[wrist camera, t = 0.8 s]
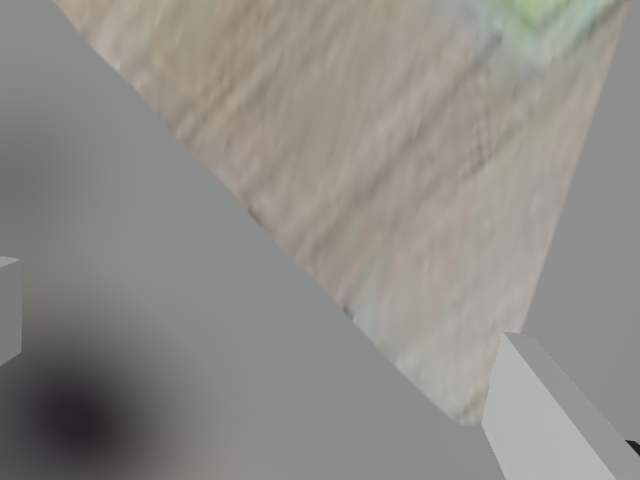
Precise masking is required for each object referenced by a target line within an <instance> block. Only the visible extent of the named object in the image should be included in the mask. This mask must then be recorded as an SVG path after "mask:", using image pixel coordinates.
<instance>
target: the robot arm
mask: <svg viewBox="0 0 640 480" xmlns="http://www.w3.org/2000/svg"><path fill="white" fill-rule="evenodd" d="M21 270H22V260H21V259H15V258H9V257H3V256H0V366H1V365H2V364H4V363H5V362H7V361H8V360H10V359H11V358H13V357H14V356H16V355H17V354H19V353H21V281H22V277H21V276H22V274H21V273H22V271H21ZM481 424H482V427H483V429H484V431H485V433H486V436H487V438H488V440H489V442H490V444H491V447H492V449H493V451H494V453H495V456H496V458H497V460H498V462H499V465H500V467H501V469H502V471H503V474H504V476H505V478H506V480H640V445H639V444H638V443H636V442H635V441H628V440H624V439H623V437H622V436H621V435H620V434H619V433H618V432H617V431H616V430H615V428H614V427H613V426H612V425H611V424H610V423H609V422H608V421H607V420H606V418H605V417H604V416H603V415H602V414H601V413H600V412H599V411H598V409H597V408H596V407H595V406H594V405H593V404H592V403H591V402H590V401H589V399H588V398H587V397H586V396H585V395H584V394H583V393H582V392H581V390H580V389H579V388H578V387H577V386H576V385H575V384H574V383H573V382H572V380H571V379H570V378H569V377H568V376H567V375H566V374H565V373H564V371H562V369H561V368H560V367H559V366H558V365H557V364H556V363H555V361H554V360H553V359H552V358H551V357H550V356H549V355H548V354H547V352H546V351H545V350H544V349H543V348H542V347H541V346H540V345H539V344H538V342H537V341H536V340H535V339H534V338H533V337H532V336H529V335H523V334H517V333H510V332H503V331H502V336H501V340H500V344H499V349H498V353H497V358H496V362H495V366H494V371H493V375H492V380H491V384H490V388H489V393H488V397H487V401H486V406H485V410H484V415H483V419H482V423H481Z"/></svg>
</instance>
